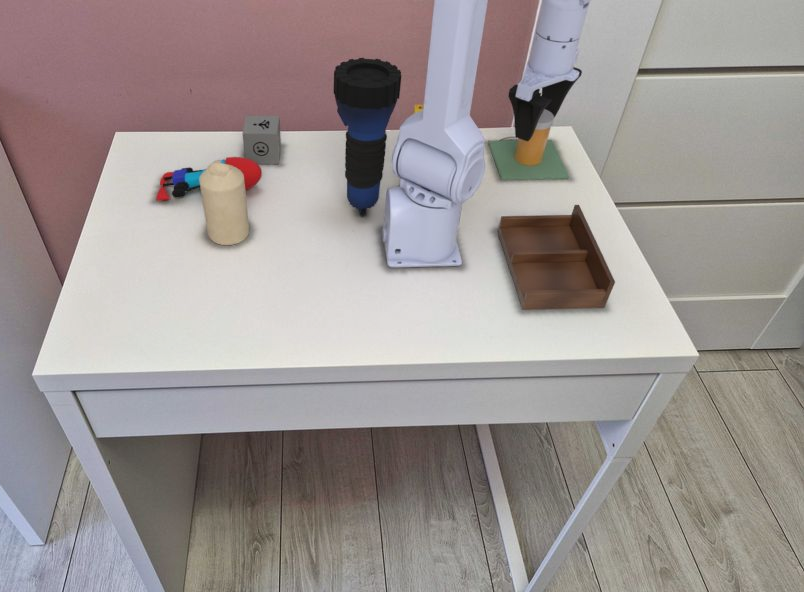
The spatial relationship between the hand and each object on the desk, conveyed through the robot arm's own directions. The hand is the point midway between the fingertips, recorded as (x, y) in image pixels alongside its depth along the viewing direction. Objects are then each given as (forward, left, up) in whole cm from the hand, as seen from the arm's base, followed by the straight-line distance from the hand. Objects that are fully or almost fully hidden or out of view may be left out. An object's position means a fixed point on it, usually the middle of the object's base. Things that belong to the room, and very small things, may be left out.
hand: (535, 127), depth 101 cm
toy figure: (-47, -6, -6) cm, 48 cm away
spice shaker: (0, 0, -5) cm, 5 cm away
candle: (-44, -16, -6) cm, 47 cm away
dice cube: (-40, +3, -6) cm, 40 cm away
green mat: (0, 0, -6) cm, 6 cm away
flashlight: (-26, -12, -6) cm, 29 cm away
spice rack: (-3, -24, -6) cm, 25 cm away
